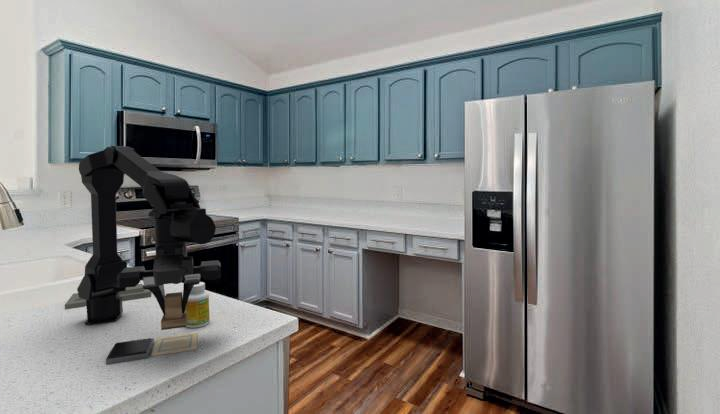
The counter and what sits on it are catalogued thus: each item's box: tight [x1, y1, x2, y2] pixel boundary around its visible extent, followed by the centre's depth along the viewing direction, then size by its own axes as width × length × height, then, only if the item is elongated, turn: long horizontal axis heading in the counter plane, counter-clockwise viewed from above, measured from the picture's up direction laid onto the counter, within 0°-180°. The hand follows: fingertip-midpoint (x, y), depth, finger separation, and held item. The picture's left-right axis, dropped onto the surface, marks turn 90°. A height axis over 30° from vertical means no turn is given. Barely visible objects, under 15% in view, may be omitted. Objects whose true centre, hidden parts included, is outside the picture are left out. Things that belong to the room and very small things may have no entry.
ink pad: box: [105, 337, 155, 365], centre depth 75 cm, size 7×7×1 cm
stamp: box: [160, 291, 187, 331], centre depth 78 cm, size 4×4×6 cm
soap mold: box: [64, 283, 152, 310], centre depth 108 cm, size 10×20×4 cm, turn 119°
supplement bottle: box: [185, 281, 210, 329], centre depth 89 cm, size 5×5×10 cm
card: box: [151, 332, 199, 357], centre depth 79 cm, size 8×8×1 cm
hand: (174, 313), depth 78 cm, fingers closed on stamp, 3 cm apart
